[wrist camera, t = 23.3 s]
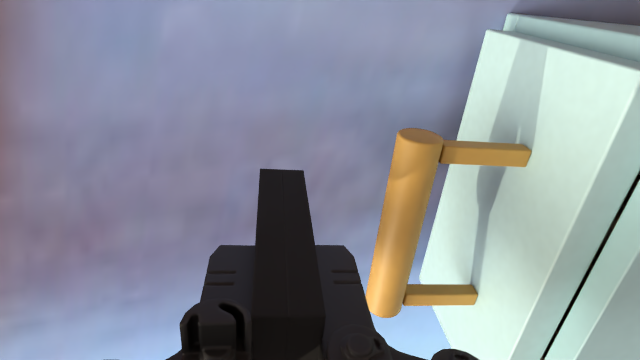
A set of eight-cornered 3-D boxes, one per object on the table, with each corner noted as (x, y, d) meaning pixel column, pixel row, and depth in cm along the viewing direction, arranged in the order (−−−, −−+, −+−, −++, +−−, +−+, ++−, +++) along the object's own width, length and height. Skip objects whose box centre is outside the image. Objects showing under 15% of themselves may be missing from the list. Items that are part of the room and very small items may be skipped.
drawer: (339, 278, 20) (368, 421, 14) (378, 18, 15) (460, 55, 8) (687, 278, 23) (849, 399, 16) (836, 61, 17) (1175, 114, 11)
